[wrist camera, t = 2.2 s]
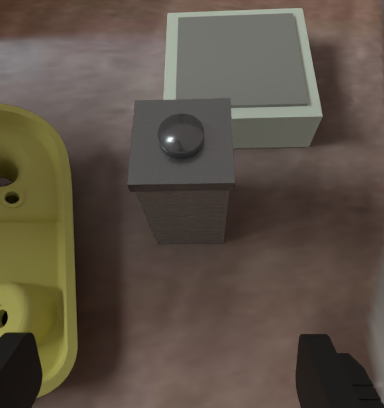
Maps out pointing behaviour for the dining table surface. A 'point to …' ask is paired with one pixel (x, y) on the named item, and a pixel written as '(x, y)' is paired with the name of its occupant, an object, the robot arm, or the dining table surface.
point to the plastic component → (37, 241)
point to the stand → (247, 72)
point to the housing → (183, 167)
